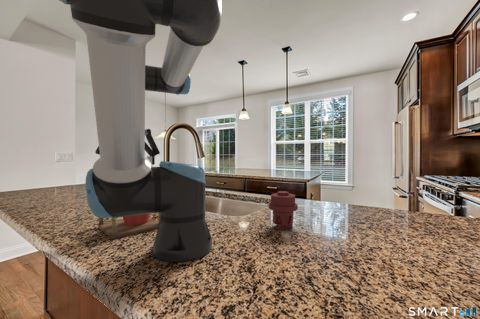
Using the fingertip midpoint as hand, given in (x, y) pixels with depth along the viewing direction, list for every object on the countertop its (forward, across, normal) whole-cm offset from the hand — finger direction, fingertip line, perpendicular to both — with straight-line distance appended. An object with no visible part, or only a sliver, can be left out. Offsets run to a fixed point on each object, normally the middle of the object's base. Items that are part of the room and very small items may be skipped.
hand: (130, 175), depth 77 cm
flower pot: (+17, -2, 0) cm, 17 cm away
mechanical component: (+19, -37, +38) cm, 56 cm away
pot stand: (+18, 0, 0) cm, 18 cm away
